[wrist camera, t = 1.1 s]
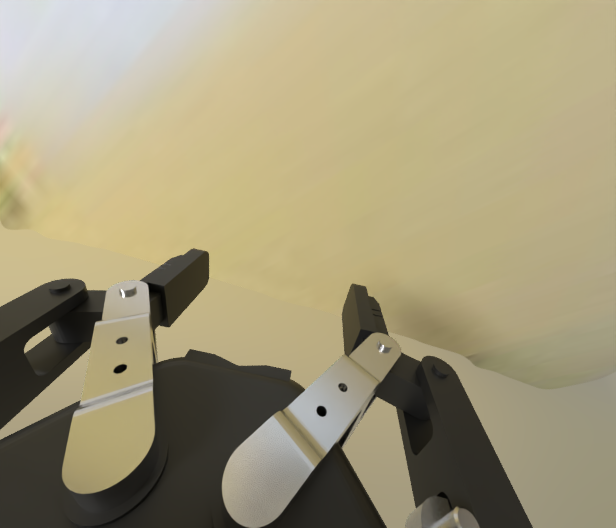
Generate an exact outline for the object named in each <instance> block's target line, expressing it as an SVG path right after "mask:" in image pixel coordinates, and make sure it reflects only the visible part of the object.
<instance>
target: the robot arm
mask: <svg viewBox="0 0 616 528" xmlns="http://www.w3.org/2000/svg"><path fill="white" fill-rule="evenodd" d="M208 279H209V254H208V252H207V251H202V250H198V249H191V250H190V251H188V252H187V253H186V254H184V255H180V256H177V257H174V258H171V259H170V260H168V261H167V262H165V263H164V264H163V265H161V266H160V267H159V268H157V269H155V270H154V271H153V272H151V273H150V274H148V275H147V276H146V277H144V278H143V279H142V280H140V281H135V280H131V281H124V282H120V283H117V284H115V285H113V286H111V287H110V288H109V289H108V290H107V291H95V290H91V291H90V290H87V289H86V286H85V283H84V282H83V281H81V280H78V279H61V280H55V281H51V282H48V283H46V284H43V285H41V286H39V287H37V288H35V289H34V290H32V291H30V292H28V293H26V294H24V295H22V296H20V297H18V298H16V299H14V300H12V301H11V302H9V303H7V304H5V305H3V306H1V307H0V429H1V428H3V427H4V426H5V425H6V424H7V423H8V422H9V421H10V420H11V419H12V418H13V417H15V416H16V415H17V414H18V413H19V412H20V411H21V410H22V409H23V408H24V407H25V406H27V405H28V404H29V403H30V402H31V401H32V400H33V399H34V398H35V397H37V396H38V395H39V394H40V393H41V392H42V391H43V390H44V389H45V388H46V387H47V386H49V385H50V384H51V383H52V382H53V381H54V380H55V379H56V378H57V377H59V376H60V375H61V374H62V373H63V372H64V371H65V370H66V369H67V368H68V367H69V366H71V365H72V364H73V363H74V362H75V361H76V360H77V359H78V358H79V357H80V356H81V355H82V354H84V353H85V352H86V351H87V350H88V349H89V348H90V347H91V348H90V353H89V359H88V365H87V370H86V375H85V380H84V386H83V391H82V396H81V400H80V401H78V402H76V403H74V404H72V405H70V406H68V407H66V408H64V409H62V410H60V411H58V412H56V413H54V414H52V415H50V416H48V417H46V418H43V419H41V420H40V421H38V422H35V423H34V424H31V425H29V426H27V427H25V428H23V429H21V430H19V431H17V432H15V433H13V434H11V435H9V436H7V437H5V438H3V439H1V440H0V528H387V527H386V525H385V524H384V522H383V520H382V519H381V517H380V515H379V513H378V511H377V510H376V508H375V506H374V504H373V503H372V501H371V499H370V497H369V496H368V494H367V492H366V490H365V489H364V487H363V485H362V483H361V482H360V480H359V478H358V476H357V474H356V473H355V471H354V469H353V467H352V466H351V464H350V462H349V461H348V459H347V457H346V455H345V453H344V452H343V450H342V448H343V447H344V445H345V444H346V442H347V441H348V439H349V438H350V436H351V435H352V433H353V431H354V430H355V428H356V427H357V425H358V424H359V422H360V421H361V419H362V418H363V416H364V415H365V413H366V412H367V410H368V409H369V408H370V406H371V405H372V403H373V402H374V400H375V399H376V397H379V398H380V399H383V400H384V401H386V402H388V403H390V404H392V405H393V406H395V407H396V409H397V414H398V419H399V424H400V429H401V434H402V440H403V445H404V450H405V455H406V460H407V465H408V470H409V475H410V481H411V485H412V491H413V496H414V501H415V506H416V509H415V510H414V511H413V512H412V513H411V514H410V515H409V516H408V518H407V521H406V525H405V528H533V527H532V525H531V523H530V521H529V519H528V517H527V515H526V513H525V511H524V509H523V507H522V505H521V503H520V501H519V499H518V497H517V495H516V493H515V491H514V489H513V487H512V485H511V483H510V481H509V479H508V477H507V475H506V473H505V471H504V469H503V467H502V465H501V463H500V460H499V458H498V456H497V454H496V453H495V450H494V448H493V446H492V445H491V442H490V440H489V438H488V436H487V434H486V432H485V430H484V428H483V426H482V424H481V422H480V420H479V418H478V416H477V414H476V412H475V410H474V408H473V406H472V404H471V402H470V400H469V398H468V396H467V394H466V392H465V390H464V388H463V386H462V384H461V382H460V380H459V378H458V376H457V374H456V372H455V371H454V370H453V369H452V367H451V366H450V365H448V364H447V363H446V362H444V361H443V360H441V359H439V358H437V357H433V356H426V357H424V358H423V359H422V361H421V362H420V361H418V360H415V359H413V358H411V357H409V356H407V355H405V354H403V353H402V352H401V348H400V346H399V344H398V343H397V342H396V341H395V340H394V339H393V338H391V337H390V336H389V335H388V332H387V328H386V325H385V322H384V319H383V315H382V312H381V309H380V306H379V303H378V302H377V301H376V300H375V299H374V297H370V296H368V293H367V289H366V287H365V286H361V285H356V284H352V285H351V287H350V289H349V292H348V295H347V298H346V301H345V304H344V307H343V312H342V322H343V337H344V351H345V354H344V355H342V356H341V357H340V358H339V359H338V360H337V361H336V362H335V363H334V364H333V365H332V366H331V367H329V368H328V369H327V370H326V371H325V372H324V373H323V374H322V375H321V376H320V377H319V378H318V379H317V380H316V381H315V382H314V383H312V384H311V385H310V386H309V387H308V388H307V389H306V390H305V389H304V388H303V387H302V386H301V385H299V384H298V383H296V382H295V381H293V380H291V379H290V376H291V371H290V370H286V369H281V368H276V367H271V366H266V365H265V366H238V365H235V364H233V363H231V362H229V361H227V360H225V359H223V358H221V357H219V356H217V355H215V354H210V353H205V352H201V351H196V350H191V349H190V350H189V351H188V353H187V354H186V356H185V357H180V358H173V359H168V360H164V361H161V362H158V358H157V347H156V334H155V329H156V328H157V327H158V326H159V325H160V326H164V327H170V326H171V325H172V324H173V323H174V321H175V320H176V319H177V318H178V317H179V316H180V315H181V313H182V312H183V311H184V310H185V309H186V308H187V307H188V306H189V304H190V303H191V302H192V301H193V300H194V299H195V298H196V297H197V295H198V294H199V293H200V292H201V291H202V290H203V289H204V288H205V286H206V285H207V283H208ZM48 326H49V328H50V330H51V333H52V334H51V335H50V336H48V337H47V338H46V339H44V340H43V341H42V342H40V343H39V344H37V345H36V346H35V347H34V348H32V349H31V350H29V351H28V352H26V353H25V354H24V347H25V345H26V343H27V342H28V341H29V339H31V338H32V337H33V336H35V335H36V334H38V333H39V332H40V331H42V330H43V329H45V328H46V327H48Z"/></svg>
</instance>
